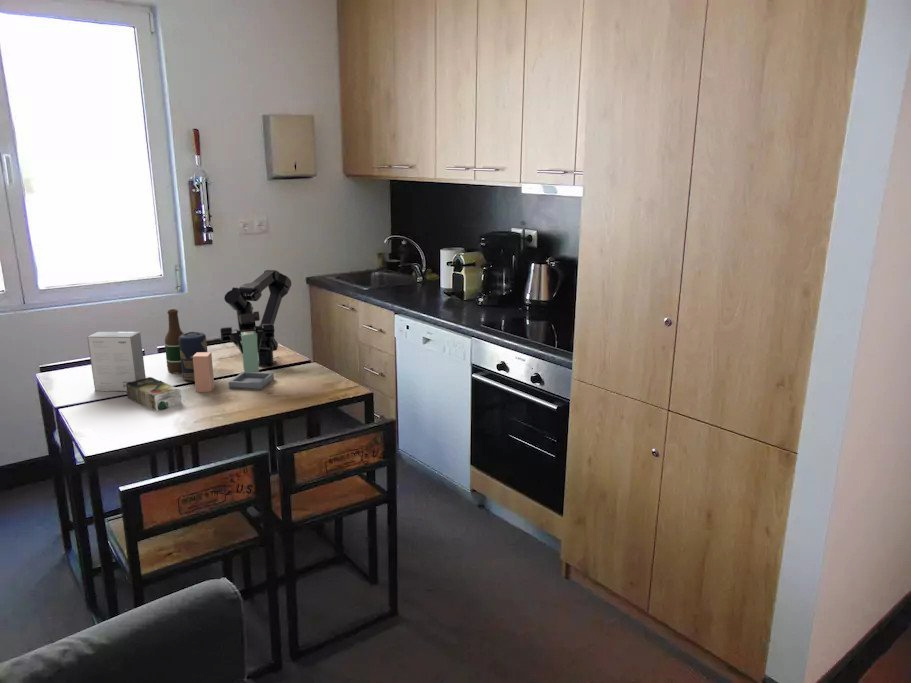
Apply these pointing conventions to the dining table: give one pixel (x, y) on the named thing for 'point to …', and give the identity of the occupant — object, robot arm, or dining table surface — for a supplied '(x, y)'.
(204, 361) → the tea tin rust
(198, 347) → the canister
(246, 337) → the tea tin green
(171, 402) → the juice carton
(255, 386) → the tray
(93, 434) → the dining table surface
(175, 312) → the beer bottle
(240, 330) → the robot arm
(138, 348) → the hard drive box
